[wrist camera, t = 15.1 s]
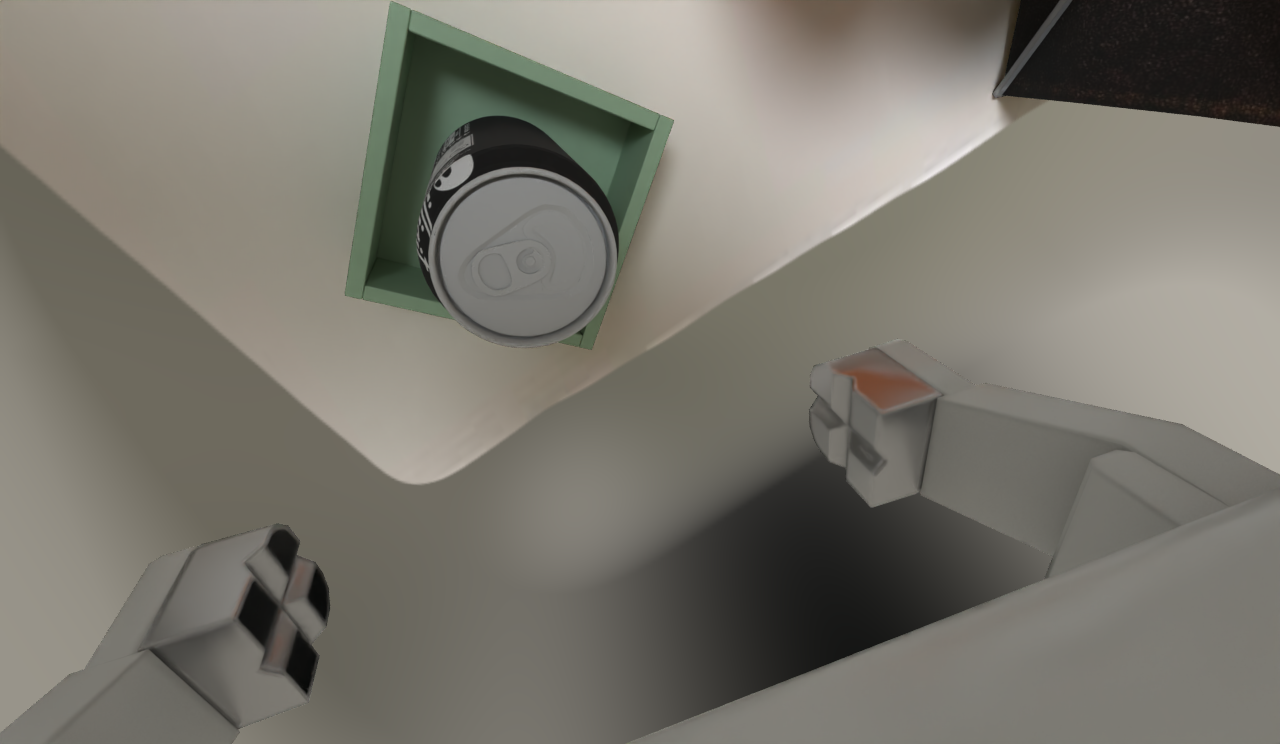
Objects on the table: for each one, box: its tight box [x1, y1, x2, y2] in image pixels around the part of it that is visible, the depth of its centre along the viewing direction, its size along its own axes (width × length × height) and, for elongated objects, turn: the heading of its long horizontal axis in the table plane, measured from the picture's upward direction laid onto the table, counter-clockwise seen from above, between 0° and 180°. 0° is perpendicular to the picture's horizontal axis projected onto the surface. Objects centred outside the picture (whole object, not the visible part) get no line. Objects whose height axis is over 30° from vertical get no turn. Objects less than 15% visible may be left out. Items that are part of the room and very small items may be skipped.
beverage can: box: [416, 116, 619, 348], centre depth 22 cm, size 7×7×12 cm
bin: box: [345, 1, 674, 350], centre depth 26 cm, size 11×11×5 cm
